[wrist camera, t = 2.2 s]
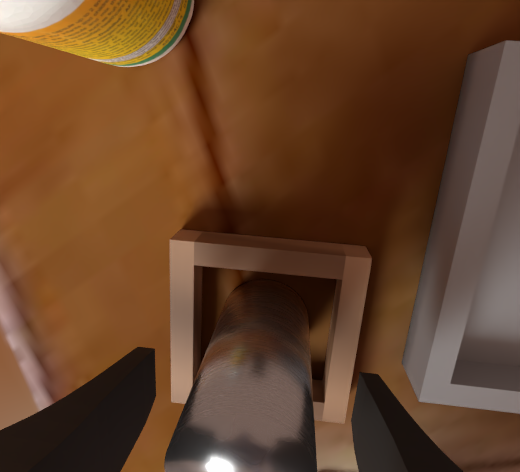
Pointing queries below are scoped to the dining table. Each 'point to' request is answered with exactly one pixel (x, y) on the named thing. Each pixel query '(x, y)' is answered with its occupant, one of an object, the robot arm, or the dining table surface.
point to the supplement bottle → (100, 27)
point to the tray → (474, 250)
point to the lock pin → (251, 389)
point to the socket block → (272, 261)
